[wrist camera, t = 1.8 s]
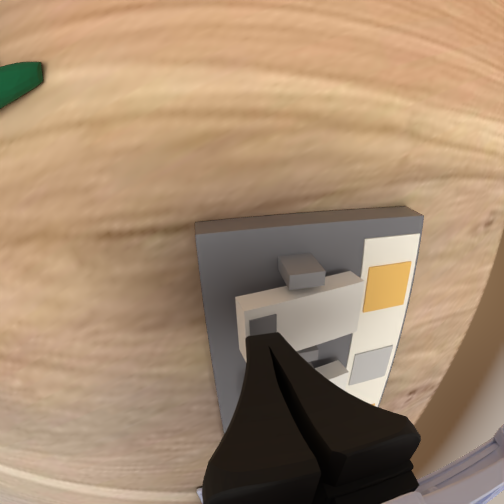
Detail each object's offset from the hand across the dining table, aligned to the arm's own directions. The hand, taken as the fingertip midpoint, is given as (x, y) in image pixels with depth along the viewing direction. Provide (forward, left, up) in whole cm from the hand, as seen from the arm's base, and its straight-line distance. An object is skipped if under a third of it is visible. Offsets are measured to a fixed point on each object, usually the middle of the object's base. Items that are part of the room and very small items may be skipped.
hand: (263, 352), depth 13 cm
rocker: (0, -2, -2) cm, 3 cm away
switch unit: (-6, -4, -6) cm, 9 cm away
